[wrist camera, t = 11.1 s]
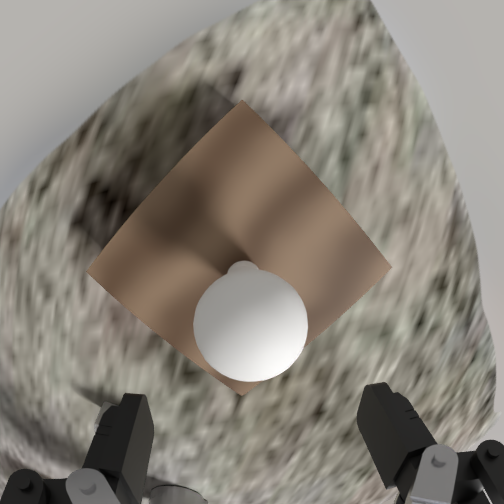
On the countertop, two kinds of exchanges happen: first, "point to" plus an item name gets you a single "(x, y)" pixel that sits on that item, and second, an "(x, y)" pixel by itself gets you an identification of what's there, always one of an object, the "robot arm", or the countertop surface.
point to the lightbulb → (250, 324)
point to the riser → (236, 236)
